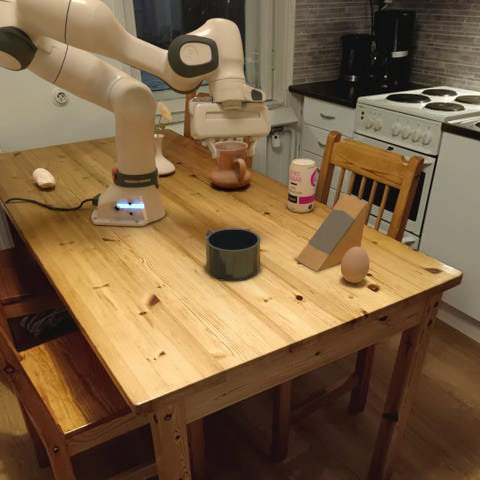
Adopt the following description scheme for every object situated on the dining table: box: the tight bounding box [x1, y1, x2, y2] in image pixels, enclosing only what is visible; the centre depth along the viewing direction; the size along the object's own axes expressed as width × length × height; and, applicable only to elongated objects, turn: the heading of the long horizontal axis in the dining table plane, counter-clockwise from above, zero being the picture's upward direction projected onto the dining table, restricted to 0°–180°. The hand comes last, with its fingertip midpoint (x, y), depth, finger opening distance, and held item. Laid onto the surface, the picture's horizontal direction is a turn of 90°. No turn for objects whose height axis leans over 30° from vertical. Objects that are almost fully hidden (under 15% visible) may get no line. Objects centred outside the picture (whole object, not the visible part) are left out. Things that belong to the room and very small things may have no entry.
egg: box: [340, 246, 370, 284], centre depth 119 cm, size 7×7×9 cm
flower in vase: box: [154, 101, 176, 176], centre depth 185 cm, size 13×11×25 cm
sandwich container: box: [295, 192, 368, 272], centre depth 128 cm, size 9×15×15 cm, turn 124°
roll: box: [32, 167, 56, 189], centre depth 176 cm, size 6×12×6 cm, turn 32°
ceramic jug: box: [209, 140, 252, 190], centre depth 175 cm, size 18×14×14 cm
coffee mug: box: [205, 227, 262, 282], centre depth 126 cm, size 18×13×8 cm
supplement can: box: [287, 158, 318, 214], centre depth 157 cm, size 8×8×15 cm
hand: (234, 157), depth 122 cm, fingers open, 8 cm apart
